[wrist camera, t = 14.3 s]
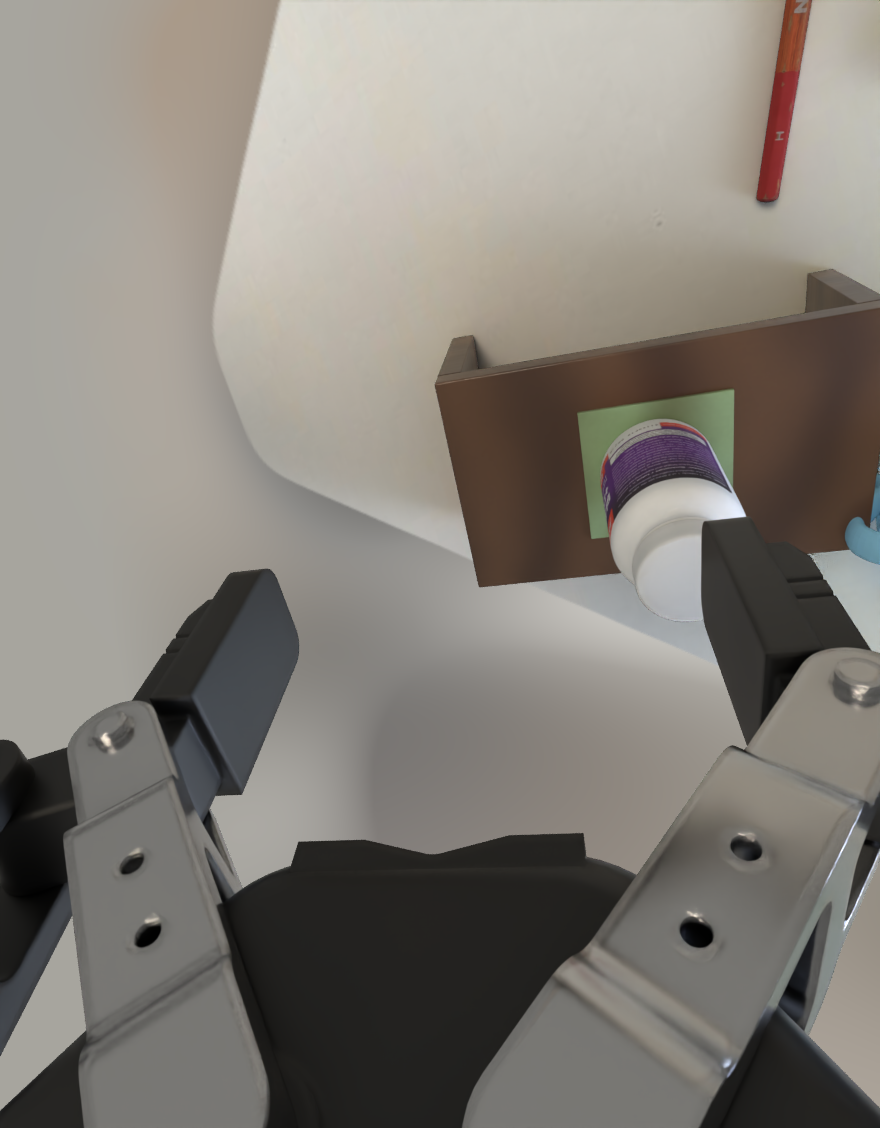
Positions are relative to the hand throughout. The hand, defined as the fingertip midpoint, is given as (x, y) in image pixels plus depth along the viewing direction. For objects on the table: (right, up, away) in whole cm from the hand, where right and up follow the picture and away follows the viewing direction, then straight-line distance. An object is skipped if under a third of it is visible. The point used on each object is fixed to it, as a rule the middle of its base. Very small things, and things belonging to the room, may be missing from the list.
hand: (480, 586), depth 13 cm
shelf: (+11, +9, +28) cm, 31 cm away
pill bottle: (+10, +5, +21) cm, 24 cm away
